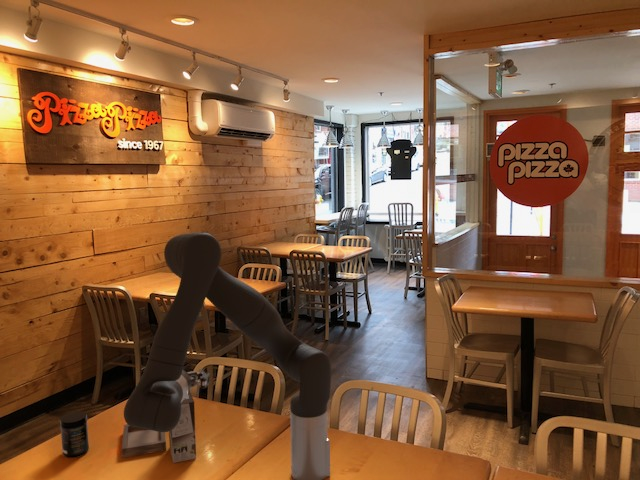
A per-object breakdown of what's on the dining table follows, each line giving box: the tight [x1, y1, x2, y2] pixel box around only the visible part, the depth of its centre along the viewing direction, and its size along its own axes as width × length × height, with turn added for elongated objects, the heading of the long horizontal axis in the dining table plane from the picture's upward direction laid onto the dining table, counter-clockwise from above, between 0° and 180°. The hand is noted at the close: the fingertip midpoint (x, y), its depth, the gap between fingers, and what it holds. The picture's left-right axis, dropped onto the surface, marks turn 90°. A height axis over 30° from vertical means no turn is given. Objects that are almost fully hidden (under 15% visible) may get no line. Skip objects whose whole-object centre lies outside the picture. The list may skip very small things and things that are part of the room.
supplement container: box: [59, 410, 90, 459], centre depth 144 cm, size 7×7×10 cm
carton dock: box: [121, 423, 167, 458], centre depth 150 cm, size 11×14×2 cm
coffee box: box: [168, 390, 197, 464], centre depth 143 cm, size 9×6×16 cm
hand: (184, 372), depth 134 cm, fingers open, 8 cm apart
